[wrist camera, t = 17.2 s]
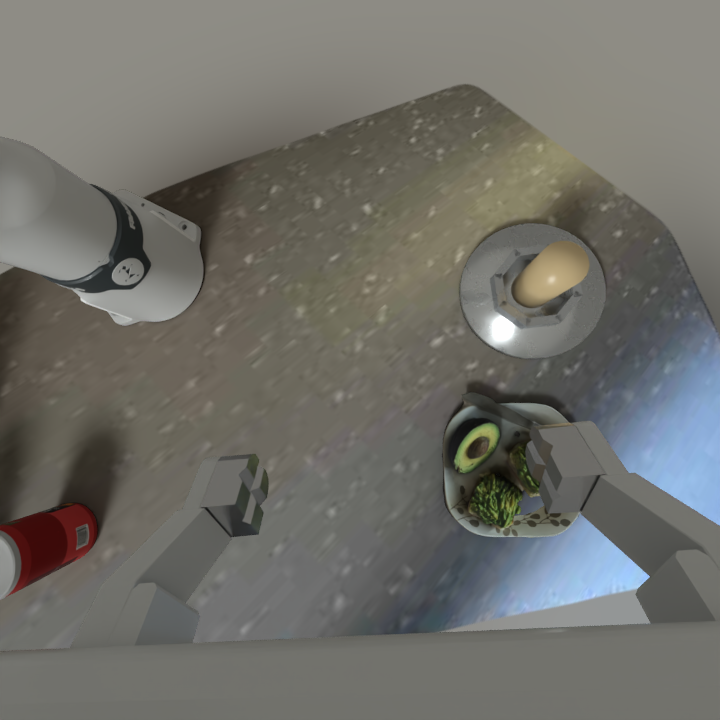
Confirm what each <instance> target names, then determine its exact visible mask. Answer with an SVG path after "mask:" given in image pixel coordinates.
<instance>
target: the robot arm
mask: <svg viewBox="0 0 720 720" xmlns="http://www.w3.org/2000/svg"><path fill="white" fill-rule="evenodd" d="M185 227H187V228H186V229H185ZM184 229H185V230H184ZM200 240H201V229H200V227H199V226H197V225H196V224H194V223H192V222H190V221H188V220H186V219H184V218H182V217H180V216H178V215H176V214H174V213H172V212H170V211H168V210H166V209H164V208H162V207H160V206H158V205H156V204H154V203H152V202H150V201H148V200H146V199H144V198H142V197H140V196H138V195H136V194H133V193H131V192H129V191H127V190H124V189H121V190H118V191H116V192H114V193H111V192H109V191H107V190H105V189H103V188H100V187H98V186H96V185H93V184H89V183H87V182H85V181H84V180H82V179H81V178H80V177H78V176H77V175H75V174H74V173H72V172H71V171H69V170H68V169H66V168H64V167H63V166H61V165H60V164H59V163H57V162H56V161H54V160H53V159H51V158H50V157H48V156H47V155H45V154H44V153H42V152H41V151H39V150H38V149H36V148H34V147H33V146H30V145H28V144H26V143H23V142H20V141H17V140H13V139H9V138H5V137H0V262H1V263H4V264H8V265H12V266H15V267H19V268H22V269H25V270H29V271H32V272H35V273H38V274H40V275H41V276H43V277H44V278H46V279H47V280H49V281H51V282H54V283H56V284H58V285H60V286H62V287H65V288H68V289H72V290H73V291H74V292H75V293H77V294H78V295H79V296H80V297H81V301H83V302H84V303H86V304H89V305H91V306H94V307H97V308H100V309H102V310H105V311H107V312H108V313H109V314H110V316H111V317H112V318H113V320H114V321H115V322H116V323H118V324H120V325H123V326H126V325H130V324H133V323H136V322H139V321H151V322H158V321H164V320H168V319H171V318H173V317H175V316H177V315H179V314H180V313H182V312H183V311H184V310H185V309H186V308H187V307H188V306H189V305H190V304H191V303H192V302H193V300H194V299H195V297H196V296H197V294H198V292H199V290H200V287H201V284H202V280H203V261H202V257H201V253H200V247H199V246H200ZM529 435H530V437H531V439H532V441H530V442H529V443H528V444H527V446H526V451H525V452H526V461H527V465H528V468H529V471H530V473H531V475H532V477H533V478H535V479H536V480H537V481H539V482H540V486H539V490H538V492H539V494H540V496H541V499H542V501H543V503H544V505H545V508H546V510H547V512H548V513H570V512H581V514H582V515H583V516H584V517H585V518H586V519H587V520H588V521H589V522H590V523H591V524H593V525H594V526H595V527H596V528H597V529H598V530H599V531H600V532H601V533H603V534H604V535H605V536H606V537H607V538H608V539H609V540H610V541H611V542H612V543H614V544H615V545H616V546H617V547H618V548H619V549H620V550H621V551H622V552H623V553H625V554H626V555H627V556H628V557H629V558H630V559H631V560H632V561H633V562H635V563H636V564H637V565H638V566H639V567H640V568H641V569H642V570H643V571H644V572H646V573H647V574H648V575H649V576H650V578H648V579H647V580H646V581H645V582H644V583H643V584H642V585H641V586H640V587H639V588H638V590H637V592H636V596H637V598H638V600H639V602H640V604H641V605H642V608H643V609H644V611H645V613H646V615H647V617H648V619H649V621H650V623H651V624H628V625H606V626H581V627H559V628H534V629H513V630H512V629H510V630H489V631H488V630H487V631H464V632H440V633H416V634H393V635H369V636H346V637H322V638H299V639H275V640H251V641H228V642H204V643H193V639H194V636H195V632H196V629H197V625H198V621H199V618H200V615H199V613H198V611H196V610H195V609H193V608H192V607H190V606H189V605H187V604H186V602H187V600H188V599H189V597H190V596H191V595H192V593H193V592H194V591H195V589H196V588H197V586H198V585H199V584H200V582H201V581H202V579H203V578H204V577H205V575H206V574H207V573H208V571H209V570H210V568H211V567H212V566H213V564H214V563H215V561H216V560H217V559H218V557H219V556H220V555H221V553H222V552H223V550H224V549H225V548H226V546H227V545H228V544H229V542H230V541H231V539H232V538H231V537H240V536H250V535H259V530H260V526H261V521H262V517H263V511H262V509H261V507H260V505H261V504H262V503H263V502H264V501H265V500H266V498H267V494H268V476H267V473H266V471H265V469H264V468H263V467H261V466H259V465H258V463H259V459H258V457H257V456H256V454H247V455H234V456H220V457H209V458H205V459H204V460H203V462H202V463H201V465H200V467H199V470H198V472H197V474H196V477H195V479H194V482H193V484H192V487H191V489H190V491H189V494H188V496H187V499H186V501H185V504H184V506H183V508H182V510H177V511H176V512H175V513H174V514H173V515H172V516H171V517H170V518H169V519H168V520H167V521H166V522H165V523H164V524H163V525H162V526H161V527H160V528H159V529H158V530H157V531H156V532H155V533H154V534H153V535H152V536H151V537H150V538H149V539H147V540H146V541H145V542H144V543H143V544H142V545H141V546H140V547H139V548H138V549H137V550H136V551H135V552H134V553H133V554H132V555H131V556H130V557H129V558H128V559H127V560H126V561H125V562H124V563H123V564H122V565H121V566H120V567H119V568H118V569H117V570H116V571H115V572H114V573H113V574H112V575H111V576H110V577H109V578H108V579H107V580H106V581H105V582H104V583H103V584H102V585H101V587H100V589H99V591H98V593H97V595H96V597H95V599H94V601H93V603H92V605H91V607H90V609H89V611H88V613H87V615H86V617H85V619H84V621H83V623H82V625H81V627H80V629H79V631H78V633H77V635H76V637H75V639H74V640H73V642H72V644H71V646H70V648H63V649H39V650H16V651H0V720H720V526H719V525H717V524H716V523H714V522H713V521H711V520H709V519H708V518H706V517H705V516H703V515H701V514H700V513H698V512H697V511H695V510H693V509H692V508H690V507H689V506H687V505H685V504H684V503H682V502H681V501H679V500H677V499H676V498H674V497H673V496H671V495H670V494H668V493H666V492H665V491H663V490H662V489H660V488H658V487H657V486H655V485H654V484H652V483H650V482H649V481H647V480H646V479H644V478H642V477H641V476H639V475H638V474H636V473H628V471H627V470H626V468H625V467H624V465H623V464H622V462H621V461H620V460H619V458H618V457H617V455H616V454H615V452H614V451H613V449H612V448H611V447H610V445H609V444H608V442H607V441H606V439H605V438H604V436H603V435H602V434H601V432H600V431H599V429H598V428H597V426H596V425H595V424H594V423H593V422H591V421H583V422H575V423H560V424H551V425H542V426H533V427H532V428H531V430H530V434H529Z"/></svg>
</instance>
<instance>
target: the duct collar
mask: <svg viewBox="0 0 720 720" xmlns="http://www.w3.org/2000/svg"><path fill="white" fill-rule="evenodd" d="M558 241H570V242H573V243H576V244H577V245H579V246H580V247H582V248H583V249H584V251H585V252H586V254H587V255H588V258H589V270H588V273H587V275H586V277H585V278H584V279H583V280H582V281H581V282H580V283H578V284H576V285H575V286H573V287H571V288H570V289H568V290H567V291H565V292H563V293H562V294H560V295H558V296H557V297H555V298H553V299H552V300H550V301H549V302H547V303H545V304H544V305H542V306H540V307H537V308H525V307H523V306H521V305H519V304H518V303H517V302H516V301H515V300H514V299H513V297H512V294H511V285H512V282H513V280H514V279H515V278H516V277H517V276H518V275H519V274H520V273H521V272H522V271H523V270H524V269H525V268H526V267H527V266H528V265H529V264H530V263H531V262H532V261H533V260H534V259H535V258H536V257H537V256H538V255H539V254H540V253H541V252H542V251H543V250H544V249H545V248H546V247H547V246H548V245H550V244H552V243H554V242H558ZM459 298H460V305H461V309H462V312H463V315H464V318H465V320H466V321H467V323H468V325H469V327H470V328H471V330H472V331H473V332H474V333H475V335H476V336H477V337H478V338H479V339H480V340H481V341H483V342H484V343H485V344H486V345H488V346H489V347H491V348H492V349H494V350H496V351H498V352H500V353H502V354H505V355H508V356H511V357H515V358H520V359H541V358H547V357H552V356H555V355H558V354H561V353H564V352H566V351H568V350H570V349H572V348H573V347H575V346H577V345H578V344H579V343H581V342H582V341H583V340H584V339H585V338H586V337H587V336H588V335H589V334H590V333H591V332H592V330H593V329H594V328H595V326H596V325H597V323H598V321H599V319H600V317H601V314H602V311H603V308H604V304H605V298H606V286H605V279H604V275H603V271H602V269H601V267H600V264H599V262H598V260H597V259H596V257H595V255H594V254H593V253H592V251H591V250H590V249H589V248H588V247H587V246H586V245H585V244H584V243H583V242H582V241H581V240H580V239H578V238H577V237H576V236H574V235H572V234H571V233H569V232H567V231H565V230H562V229H560V228H557V227H554V226H550V225H545V224H535V223H529V224H519V225H515V226H511V227H508V228H505V229H502V230H500V231H498V232H496V233H494V234H493V235H491V236H490V237H488V238H487V239H486V240H484V241H483V242H482V243H481V244H480V245H479V246H478V247H477V248H476V249H475V250H474V252H473V253H472V255H471V256H470V258H469V260H468V261H467V263H466V265H465V267H464V270H463V273H462V276H461V280H460V287H459Z"/></svg>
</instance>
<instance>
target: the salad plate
mask: <svg viewBox="0 0 720 720" xmlns="http://www.w3.org/2000/svg"><path fill="white" fill-rule="evenodd" d="M462 400H463V401H464V404H463V406H462V408H461V409H460V410H459V411H458V412H457V413H456V414H455V415H454V416H453V417H452V418H451V420H450V421H449V423H448V425H447V426H446V429H445V432H444V437H443V453H442V458H443V493H444V500H445V506H446V508H447V510H448V511H449V513H450V514H451V515H452V517H454V518H455V520H456V521H457V522H458V523H460V524H461V525H462V526H463V527H465V528H466V529H467V530H468V531H470V532H472V533H474V534H478V535H482V536H488V537H530V538H533V537H547V536H556V535H559V534H561V533H562V532H564V531H565V530H567V529H568V528H569V527H570V526H571V525H572V523H573V522H574V521H575V520H576V518H577V517H578V516H579V514H580V513H581V512H570V513H548V512H547V510H546V508H545V505H544V506H543V507H541V508H540V509H538V510H537V511H535V512H533V513H528V514H527V515H519V516H514V515H515V514H519V513H520V512H521V507H520V506H518V502H519V501H520V500H521V499H522V497H523V496H522V491H523V490H525V491H526V492H527V494H528V495H529V496H530V497H534V496H540V494H539V492H538V490H539V486H540V482H539V481H537V480H536V479H535V478H533V477H532V475H531V473H530V471H529V468H528V465H527V461H526V452H525V451H526V446H527V444H528V443H529V442H530V441H532V439H531V437H530V435H529V434H530V430H531V428H532V427H533V426H542V425H551V424H560V423H569V422H568V421H567V420H566V419H565V418H564V417H563V416H562V415H561V414H560V413H559V412H557V411H556V410H555V409H553V408H552V407H550V406H547V405H543V404H536V403H503V404H498V403H495V402H494V400H493V399H490V398H488V397H486V396H483V395H480V394H477V393H473V392H469V393H466V394H463V395H462ZM515 431H518V432H519V433H520V436H519V437H516V436H515V434H514V433H515ZM496 473H498V474H499V475H500V476H498V475H496ZM464 487H465V488H464Z"/></svg>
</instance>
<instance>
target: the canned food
mask: <svg viewBox="0 0 720 720" xmlns="http://www.w3.org/2000/svg"><path fill="white" fill-rule="evenodd" d="M96 537H97V522H96V519H95V517H94V515H93V513H92V512H91V511H90V509H88V508H87V507H86V506H84V505H82V504H78V503H67V504H63V505H60V506H57V507H54V508H51V509H48V510H45V511H42V512H39V513H36V514H33V515H29V516H26V517H23V518H20V519H17V520H14V521H11V522H8V523H5V524H2V525H0V599H3V598H5V597H7V596H9V595H11V594H13V593H15V592H17V591H19V590H21V589H22V588H24V587H26V586H28V585H30V584H32V583H34V582H36V581H38V580H40V579H42V578H43V577H45V576H47V575H49V574H51V573H53V572H55V571H57V570H59V569H61V568H62V567H64V566H66V565H68V564H70V563H72V562H74V561H76V560H78V559H80V558H81V557H83V556H84V555H85V554H86V553H87V552H88V551H89V550H90V549H91V548H92V546H93V545H94V543H95V540H96Z"/></svg>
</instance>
